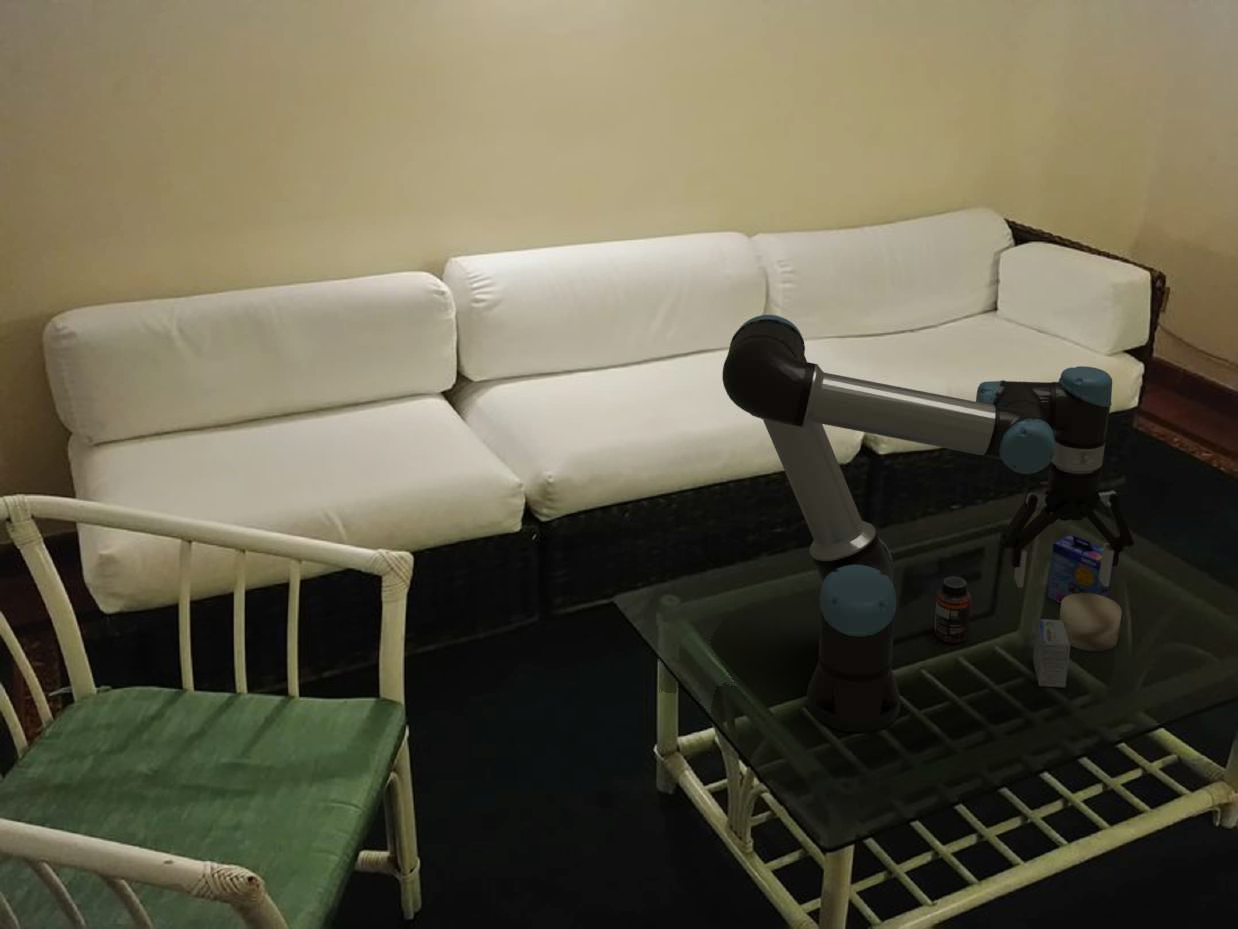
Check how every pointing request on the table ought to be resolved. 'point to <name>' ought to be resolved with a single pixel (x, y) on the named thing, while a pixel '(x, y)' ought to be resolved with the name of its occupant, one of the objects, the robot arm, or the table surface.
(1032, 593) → the table surface
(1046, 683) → the medicine box
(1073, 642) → the birch riser
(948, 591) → the supplement bottle
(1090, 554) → the ink cartridge box
